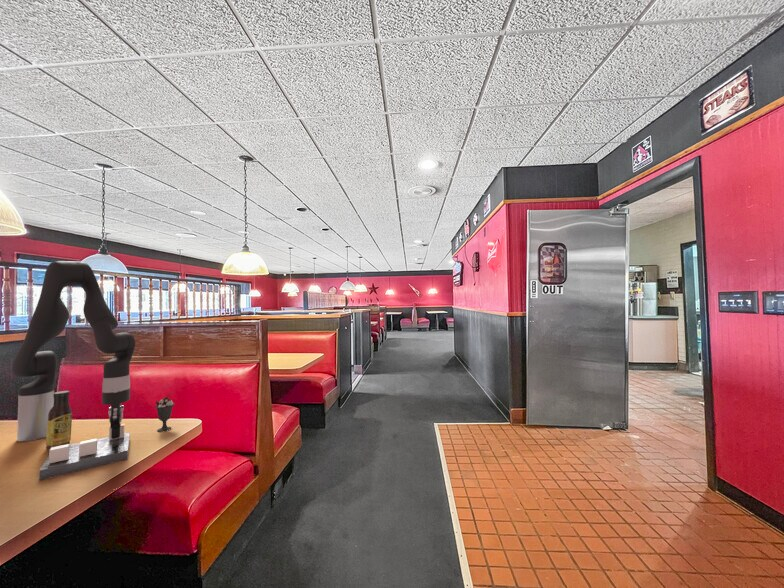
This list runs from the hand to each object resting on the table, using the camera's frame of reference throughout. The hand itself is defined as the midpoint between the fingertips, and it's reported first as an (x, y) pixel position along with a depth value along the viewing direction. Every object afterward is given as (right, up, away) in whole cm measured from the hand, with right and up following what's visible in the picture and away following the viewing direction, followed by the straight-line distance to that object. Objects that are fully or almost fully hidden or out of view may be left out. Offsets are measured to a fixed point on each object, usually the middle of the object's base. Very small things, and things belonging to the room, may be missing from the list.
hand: (115, 437), depth 111 cm
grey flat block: (-4, -5, -5) cm, 8 cm away
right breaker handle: (-6, -1, -13) cm, 14 cm away
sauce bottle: (-23, -5, +3) cm, 24 cm away
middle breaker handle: (-1, -1, -9) cm, 9 cm away
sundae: (+4, -5, +18) cm, 19 cm away
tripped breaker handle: (-2, -1, +3) cm, 4 cm away
